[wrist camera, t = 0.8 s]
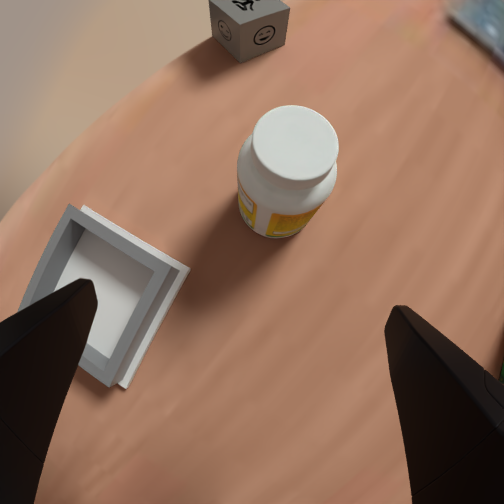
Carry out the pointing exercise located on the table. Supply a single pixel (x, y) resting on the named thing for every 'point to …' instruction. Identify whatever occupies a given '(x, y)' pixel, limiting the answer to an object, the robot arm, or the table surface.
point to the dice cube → (249, 26)
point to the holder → (110, 289)
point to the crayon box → (502, 375)
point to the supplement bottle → (286, 170)
